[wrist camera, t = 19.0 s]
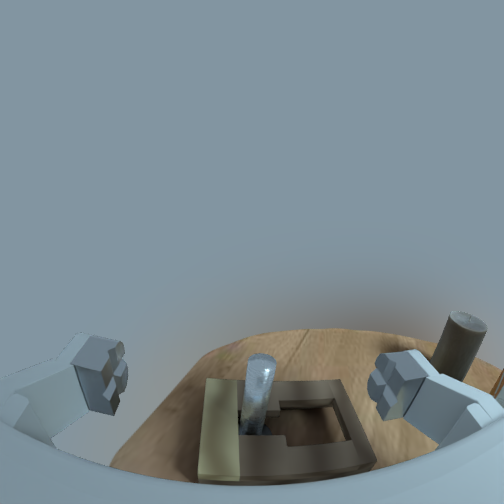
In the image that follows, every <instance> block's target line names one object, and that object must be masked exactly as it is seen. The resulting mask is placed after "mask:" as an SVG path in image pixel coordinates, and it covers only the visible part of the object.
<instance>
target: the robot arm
mask: <svg viewBox="0 0 504 504" xmlns="http://www.w3.org/2000/svg"><path fill="white" fill-rule="evenodd" d="M124 354H125V350H124V345H123V343H122V342H121V341H117V340H112V339H108V338H103V337H98V336H94V335H89V334H85V333H77V334H76V335H75V336H74V338H73V339H72V340H71V341H70V342H69V344H68V345H67V346H66V347H65V348H64V350H63V351H62V352H61V354H60V355H59V356H58V357H57V358H56V360H54V359H50V360H47V361H44V362H42V363H39V364H37V365H34V366H32V367H29V368H27V369H24V370H21V371H18V372H16V373H13V374H10V375H8V376H5V377H2V378H0V504H504V409H503V408H502V406H501V405H500V404H499V403H498V402H497V401H496V400H495V399H494V398H493V396H492V395H490V394H488V393H485V392H483V391H481V390H478V389H476V388H474V387H472V386H469V385H467V384H465V383H462V382H460V381H458V380H456V379H453V378H451V377H449V376H447V375H445V374H439V373H438V372H437V370H436V369H435V368H434V367H433V366H432V365H431V364H430V363H429V361H428V360H427V359H426V358H425V357H424V356H423V355H422V354H421V353H420V352H419V351H418V350H415V349H414V350H407V351H403V352H394V353H383V354H380V355H379V356H378V357H377V359H376V361H375V366H376V369H375V370H374V371H373V372H372V373H371V374H370V376H369V379H368V384H367V390H368V394H369V396H370V398H371V399H372V400H373V401H375V402H377V406H376V409H377V411H378V413H379V414H380V416H381V418H382V420H383V421H387V420H392V419H398V418H402V417H404V418H403V419H405V420H406V421H407V422H409V423H410V424H411V425H413V426H414V427H416V428H417V429H418V430H420V431H421V432H422V433H424V434H425V435H427V436H428V437H429V438H431V439H432V440H434V441H435V442H436V443H438V444H439V446H438V447H437V448H436V449H435V451H433V452H430V453H428V454H425V455H422V456H419V457H417V458H414V459H411V460H408V461H405V462H402V463H398V464H395V465H392V466H388V467H385V468H381V469H377V470H373V471H369V472H365V473H361V474H356V475H351V476H346V477H341V478H335V479H329V480H323V481H315V482H307V483H298V484H286V485H268V486H228V485H210V484H198V483H189V482H181V481H173V480H167V479H161V478H155V477H150V476H145V475H140V474H136V473H131V472H127V471H123V470H119V469H115V468H112V467H108V466H105V465H101V464H98V463H95V462H91V461H88V460H86V459H83V458H80V457H77V456H74V455H72V454H69V453H66V452H64V451H61V450H59V449H56V447H55V446H54V444H53V443H52V441H51V438H52V437H54V436H55V435H56V434H58V433H59V432H61V431H62V430H64V429H65V428H67V427H68V426H69V425H71V424H72V423H74V422H75V421H76V420H78V419H79V418H81V417H82V416H84V415H85V414H86V413H88V412H89V410H91V411H95V412H99V413H103V414H108V415H112V416H114V415H115V412H116V410H117V407H118V405H119V403H120V399H119V394H121V393H122V392H124V390H125V388H126V385H127V380H128V368H127V364H126V362H125V361H124V360H123V359H122V357H123V355H124Z"/></svg>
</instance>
